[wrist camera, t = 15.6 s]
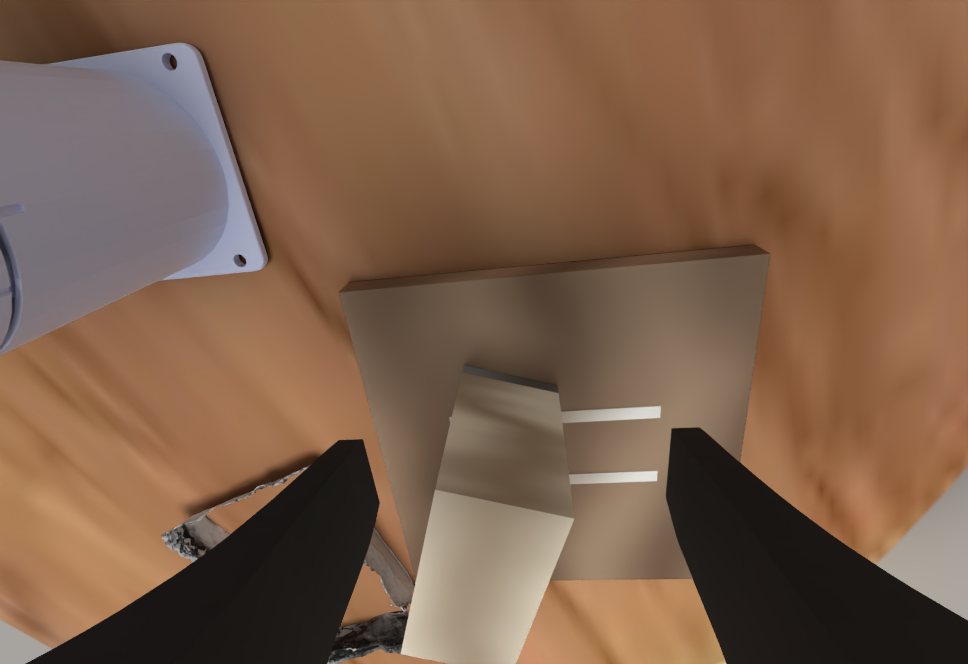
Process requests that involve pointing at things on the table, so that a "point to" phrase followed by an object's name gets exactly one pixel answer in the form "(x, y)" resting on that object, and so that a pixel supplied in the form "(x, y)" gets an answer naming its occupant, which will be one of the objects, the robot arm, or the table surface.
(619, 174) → the table surface
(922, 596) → the robot arm
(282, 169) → the table surface
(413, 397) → the walnut board
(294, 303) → the table surface
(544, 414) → the block
